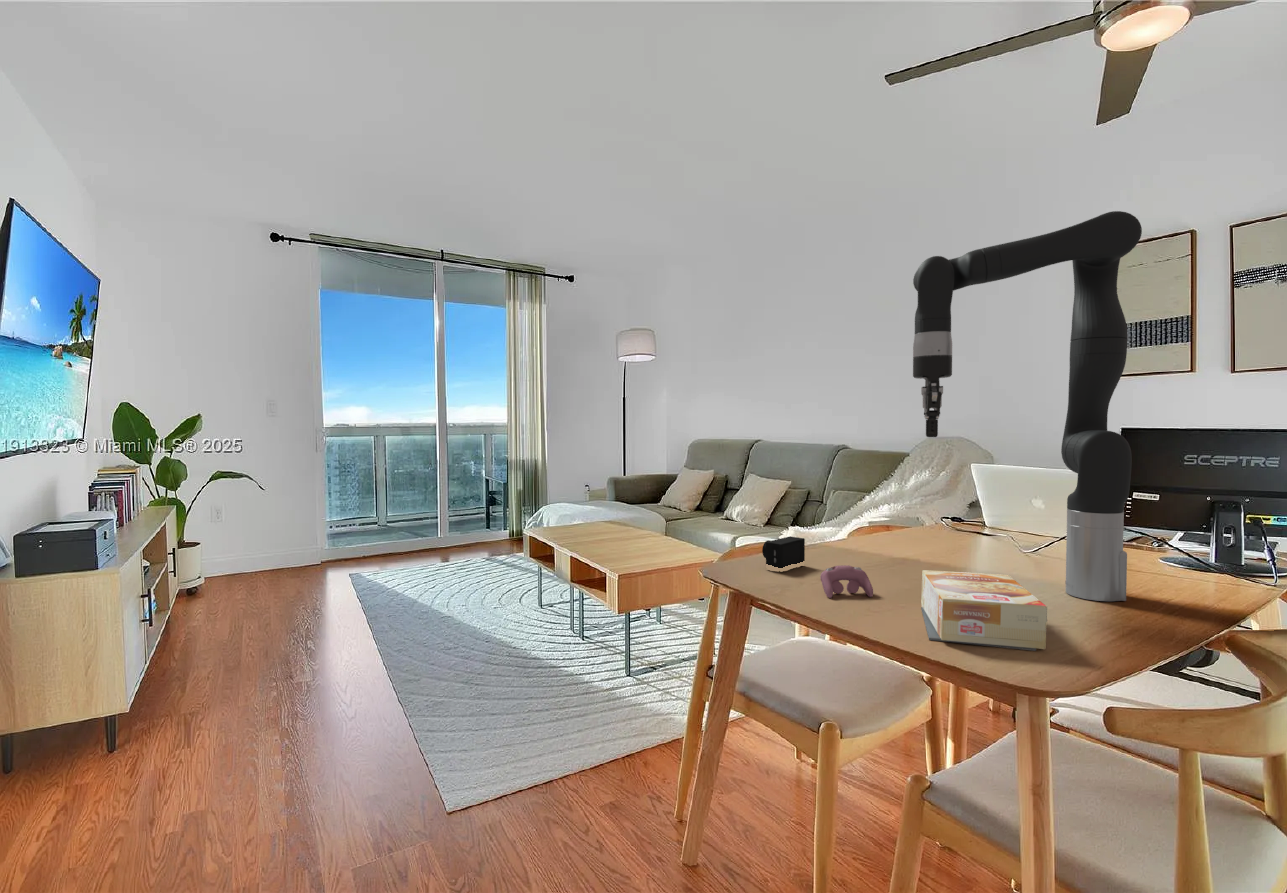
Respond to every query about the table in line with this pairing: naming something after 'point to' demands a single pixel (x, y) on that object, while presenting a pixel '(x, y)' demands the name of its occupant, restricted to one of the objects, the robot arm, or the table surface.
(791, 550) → the digital camera
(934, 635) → the mat
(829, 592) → the video game controller
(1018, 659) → the table surface
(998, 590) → the coffeecake box
